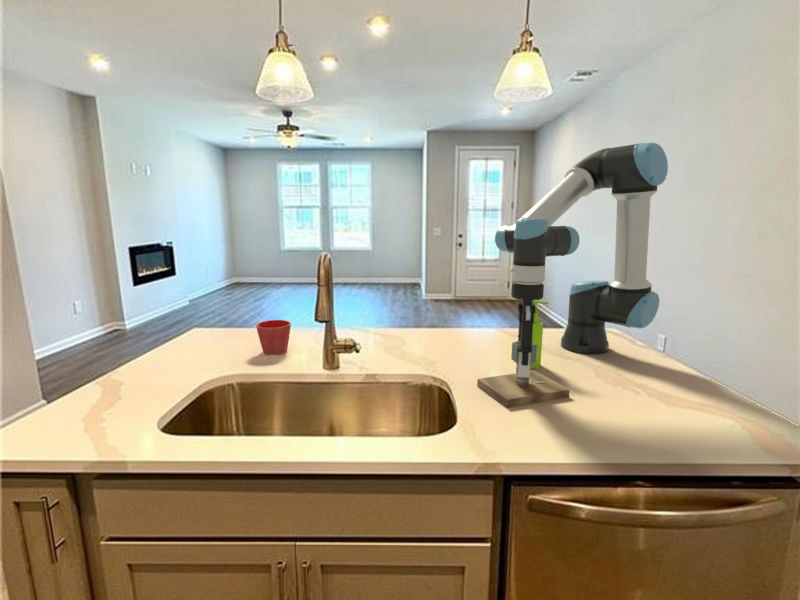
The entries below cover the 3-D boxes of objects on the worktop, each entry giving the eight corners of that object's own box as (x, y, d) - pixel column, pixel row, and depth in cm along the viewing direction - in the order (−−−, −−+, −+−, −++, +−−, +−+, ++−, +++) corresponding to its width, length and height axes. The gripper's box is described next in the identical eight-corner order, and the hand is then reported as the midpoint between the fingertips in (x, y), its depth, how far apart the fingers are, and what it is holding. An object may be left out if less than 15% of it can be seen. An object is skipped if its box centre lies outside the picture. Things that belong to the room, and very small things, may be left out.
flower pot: (284, 357, 136) (282, 328, 134) (252, 355, 138) (250, 326, 136) (297, 347, 146) (295, 320, 144) (267, 346, 148) (265, 319, 146)
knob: (509, 362, 106) (510, 344, 105) (512, 356, 111) (513, 338, 110) (534, 365, 104) (535, 346, 103) (536, 358, 109) (537, 341, 108)
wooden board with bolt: (534, 377, 118) (535, 350, 117) (569, 397, 105) (571, 366, 104) (477, 385, 112) (478, 357, 111) (507, 407, 100) (508, 375, 98)
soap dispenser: (545, 369, 125) (549, 302, 121) (521, 367, 126) (524, 301, 123) (542, 362, 131) (546, 299, 127) (519, 361, 132) (523, 298, 128)
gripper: (511, 276, 113) (507, 359, 118) (513, 287, 95) (508, 384, 100) (540, 277, 112) (535, 361, 116) (548, 288, 94) (541, 387, 98)
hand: (522, 371), depth 108 cm, fingers closed on knob, 6 cm apart
